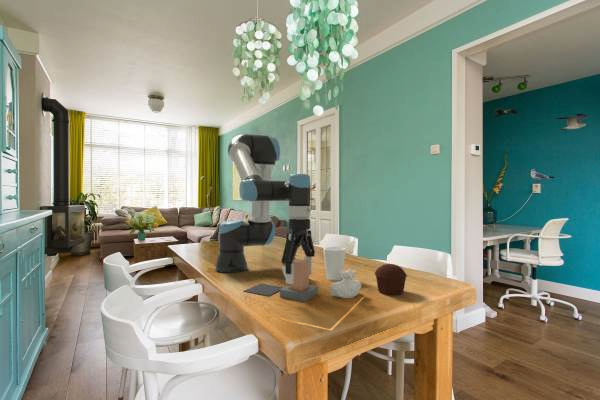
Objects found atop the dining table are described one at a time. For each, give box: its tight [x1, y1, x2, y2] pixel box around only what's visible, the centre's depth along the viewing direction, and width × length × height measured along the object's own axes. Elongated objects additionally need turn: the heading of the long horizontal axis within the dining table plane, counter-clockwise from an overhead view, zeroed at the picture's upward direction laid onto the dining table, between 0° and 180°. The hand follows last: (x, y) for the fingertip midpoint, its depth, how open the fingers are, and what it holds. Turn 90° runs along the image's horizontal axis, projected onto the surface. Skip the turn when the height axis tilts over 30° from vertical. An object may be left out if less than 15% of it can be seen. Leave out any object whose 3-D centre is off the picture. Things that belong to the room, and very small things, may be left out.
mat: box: [243, 283, 285, 298], centre depth 113 cm, size 11×11×1 cm
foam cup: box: [322, 246, 346, 282], centre depth 131 cm, size 10×9×13 cm
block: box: [289, 258, 310, 291], centre depth 107 cm, size 5×5×12 cm
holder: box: [279, 284, 319, 303], centre depth 107 cm, size 10×10×3 cm
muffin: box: [374, 263, 408, 297], centre depth 113 cm, size 12×11×10 cm
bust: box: [329, 268, 362, 299], centre depth 106 cm, size 12×8×11 cm
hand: (299, 278), depth 107 cm, fingers open, 13 cm apart
